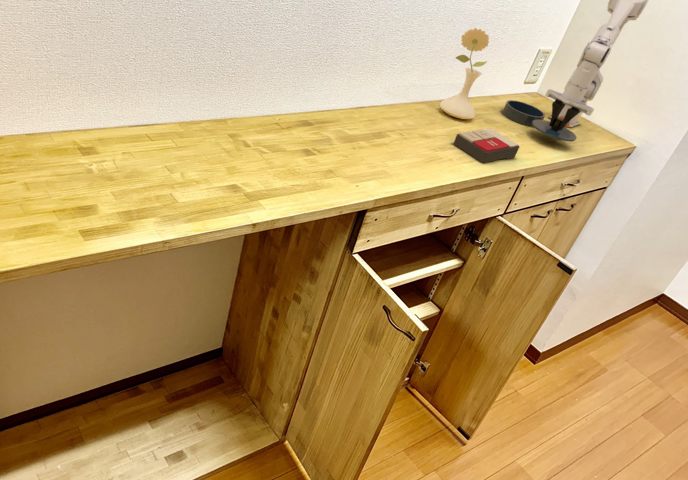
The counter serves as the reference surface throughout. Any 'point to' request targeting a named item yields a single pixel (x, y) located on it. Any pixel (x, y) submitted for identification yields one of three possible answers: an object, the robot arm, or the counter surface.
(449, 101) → the flower in vase
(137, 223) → the counter surface
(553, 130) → the pot lid
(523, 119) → the pot
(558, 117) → the orange capsule
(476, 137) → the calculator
